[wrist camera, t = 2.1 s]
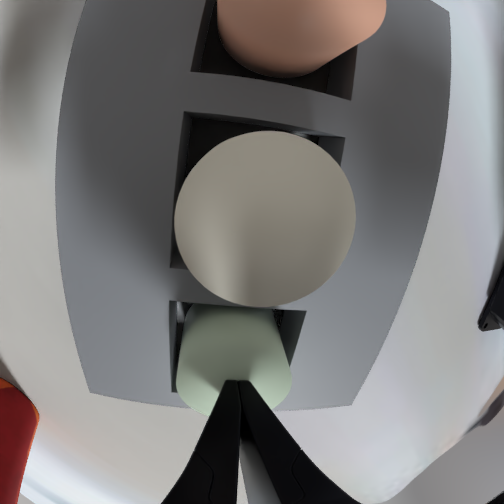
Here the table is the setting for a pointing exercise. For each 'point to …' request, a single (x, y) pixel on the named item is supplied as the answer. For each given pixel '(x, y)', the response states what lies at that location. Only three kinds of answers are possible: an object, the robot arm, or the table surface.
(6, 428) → the paper cup
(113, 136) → the grey flat board
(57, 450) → the table surface
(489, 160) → the table surface
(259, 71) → the pink button
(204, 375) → the sage button
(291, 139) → the cream button
